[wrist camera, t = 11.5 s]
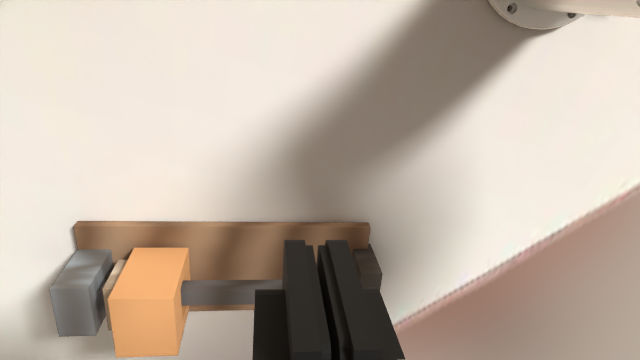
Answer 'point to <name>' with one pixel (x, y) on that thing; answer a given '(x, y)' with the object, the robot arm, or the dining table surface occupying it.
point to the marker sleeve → (150, 303)
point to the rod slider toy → (193, 263)
